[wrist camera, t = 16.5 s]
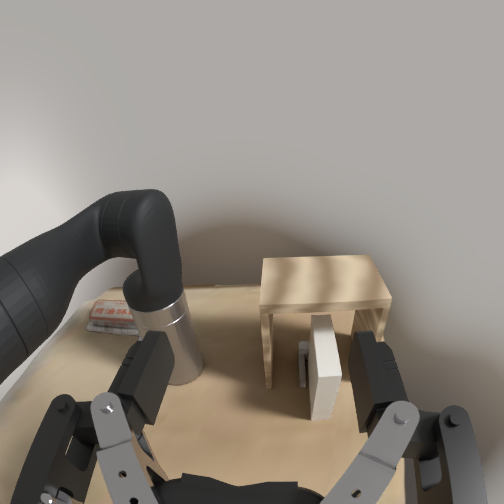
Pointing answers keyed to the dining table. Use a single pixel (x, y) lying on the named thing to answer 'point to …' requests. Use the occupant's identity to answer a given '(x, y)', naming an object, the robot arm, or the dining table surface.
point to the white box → (323, 367)
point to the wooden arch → (321, 297)
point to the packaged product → (112, 318)
